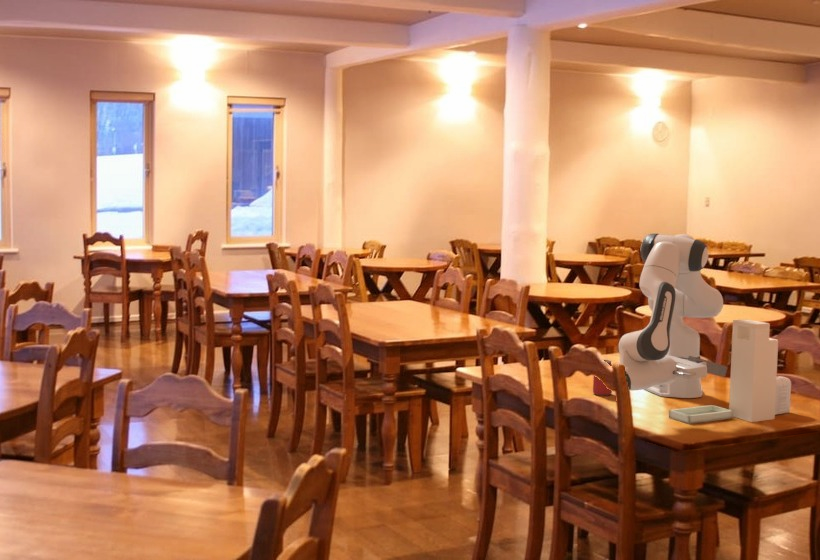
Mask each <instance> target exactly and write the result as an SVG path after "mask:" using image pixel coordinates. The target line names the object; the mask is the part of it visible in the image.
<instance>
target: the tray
mask: <svg viewBox="0 0 820 560" xmlns="http://www.w3.org/2000/svg"><path fill="white" fill-rule="evenodd" d="M668 418H669V419H672V420H675V421H679V422H681V423H685V424H687V425H690V424H698V423H707V422H715V421H723V420H731V419H733V418H734V417H733V411H732V410H729V408H724V407H722V406H718V405H713V404H709V405H701V406H700V405H699V406H694V407H683V408H676V409H675V408H674V409H669V410H668Z"/></svg>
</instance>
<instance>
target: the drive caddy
mask: <svg viewBox="0 0 820 560" xmlns="http://www.w3.org/2000/svg"><path fill="white" fill-rule="evenodd" d="M688 360H689V361H692V362H696V363H699V362H702V361H703V362H706V366H707V374H711V375H716V376H719V377H723V378H726V375H727V372H728V368H729V367H728V366H727V365H723V364H719V363H716V362H713V361H710V360H706V359H703V358H702V359H701V358H700V359H699V358H696V357H692V356H689V358H688Z"/></svg>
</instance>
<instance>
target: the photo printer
mask: <svg viewBox="0 0 820 560" xmlns="http://www.w3.org/2000/svg"><path fill="white" fill-rule="evenodd" d="M791 392H792V381H791V379H790V378H788V377H785V376H781V375H780V376H777V378H776V399H775V416H776V415H782V414H789V413H790V411H791V395H792V394H791Z"/></svg>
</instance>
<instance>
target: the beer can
mask: <svg viewBox="0 0 820 560" xmlns="http://www.w3.org/2000/svg"><path fill="white" fill-rule="evenodd" d="M603 360H604V361H605V362H607V363H608V364H609V365H610V366H612V367H613V365H612V360H608V359H603ZM592 380H593V382H592V386H593V387H592V392H593V394H594V395H595V396H602V397H603V396H610V395H612V393H613V390H612V391H611V390H609V389H607V388H606V386H605V385H604V384H603V382H602V381H601V380H599V379H598V378H597V377H595V376H594V375H593V379H592Z"/></svg>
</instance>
